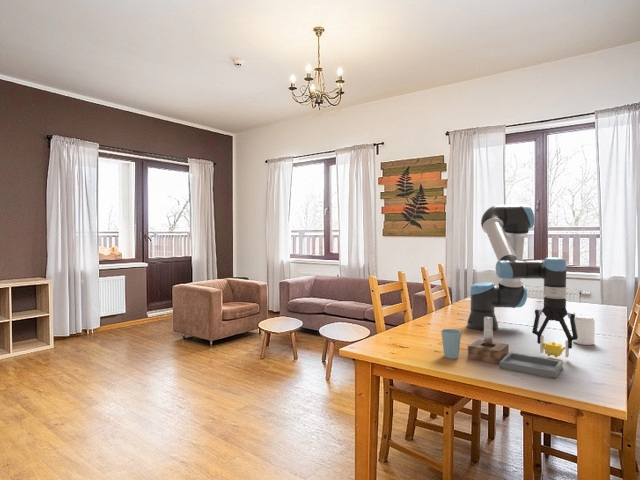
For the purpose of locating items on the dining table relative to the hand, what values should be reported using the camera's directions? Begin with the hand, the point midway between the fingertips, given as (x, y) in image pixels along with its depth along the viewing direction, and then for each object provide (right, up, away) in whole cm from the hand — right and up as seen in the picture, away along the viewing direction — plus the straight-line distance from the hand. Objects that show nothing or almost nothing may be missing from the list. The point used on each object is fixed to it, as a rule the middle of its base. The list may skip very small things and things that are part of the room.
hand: (554, 354), depth 155 cm
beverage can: (+25, -1, +20) cm, 32 cm away
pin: (-25, 0, +2) cm, 25 cm away
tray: (-15, -2, -10) cm, 18 cm away
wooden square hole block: (-25, -2, +2) cm, 25 cm away
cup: (-39, -2, +4) cm, 40 cm away
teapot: (0, -1, 0) cm, 1 cm away
